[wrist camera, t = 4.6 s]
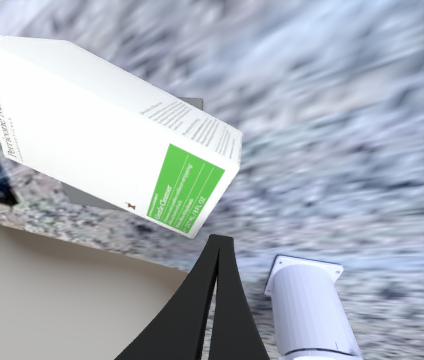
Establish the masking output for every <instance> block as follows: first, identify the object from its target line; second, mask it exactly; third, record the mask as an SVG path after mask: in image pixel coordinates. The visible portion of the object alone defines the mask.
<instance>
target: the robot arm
mask: <svg viewBox="0 0 424 360" xmlns="http://www.w3.org/2000/svg"><path fill="white" fill-rule="evenodd" d="M343 270H344V269H343V267H342V266H341V265H337V264H331V263H325V262H318V261H312V260H306V259H300V258H293V257H287V256H277V258H276V261H275V263H274V266H273V269H272V272H271V274H270V277H269V280H268V283H267V286H266V288H265V291H264V292H265V295H267V296H271V299H272V309H273V318H274V328H275V337H276V343H277V347H278V350H279V352H280V354H281V356H282V357H278V360H364V359H363V356H362V354H361V351H360V349H359V346H358V344H357V341H356V339H355V336H354V334H353V331H352V329H351V326H350V324H349V321H348V319H347V316H346V314H345V311H344V309H343V306H342V304H341V301H340V299H339V296H338V294H337V291H336V289H335V286H334V283H335V281H336V280H337V279H338V277H339V276H340V274H341V273H342V272H343ZM216 278H217V291H216V307H215V314H214V321H213V329H212V336H211V343H210V350H209V358H208V360H270V358H269V356H268V354H267V352H266V349H265V347H264V344H263V342H262V340H261V337H260V335H259V332H258V330H257V328H256V325H255V322H254V320H253V317H252V314H251V311H250V309H249V306H248V303H247V300H246V297H245V294H244V290H243V287H242V284H241V280H240V276H239V272H238V268H237V263H236V258H235V252H234V239H233V238H232V237H228V236H222V235H215V234H211V235H210V236H209V239H208V241H207V243H206V245H205V247H204V249H203V251H202V253H201V255H200V257H199V258H198V260H197V262H196V263H195V265H194V267H193V268H192V270H191V271H190V273H189V274H188V276H187V277H186V279H185V280H184V282H183V283H182V285H181V286H180V287H179V289H178V290H177V291H176V293H175V294H174V295H173V296H172V298H171V299H170V300H169V301H168V303H167V304H166V305H165V306H164V308H163V309H162V310H161V311H160V312H159V313H158V315H157V316H156V317H155V318H154V319H153V320H152V321H151V322H150V324H149V325H148V326H147V327H146V328H145V329H144V330H143V331H142V332H141V333H140V334H139V335H138V337H136V339H134V341H133V342H131V344H129V346H127V347H126V349H124V350H123V351H122V352H121V353H120V354H119V355H118V356H117V357H116V358H115V359H114V360H201V357H202V350H203V344H204V337H205V330H206V324H207V319H208V314H209V309H210V305H211V300H212V296H213V292H214V287H215V283H216Z"/></svg>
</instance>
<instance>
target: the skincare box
mask: <svg viewBox="0 0 424 360" xmlns="http://www.w3.org/2000/svg"><path fill="white" fill-rule="evenodd" d="M242 134H243V133H242V132H241V131H239V130H237V129H236V128H234V127H232V126H230V125H228V124H226V123H224V122H222V121H220V120H219V119H217V118H215V117H213V116H211V115H209V114H207V113H205V112H203V111H201V110H200V109H198V108H196V107H194V106H192V105H190V104H188V103H186V102H184V101H182V100H180V99H178V98H176V97H174V96H173V95H171V94H169V93H167V92H165V91H163V90H161V89H159V88H157V87H155V86H153V85H151V84H149V83H148V82H146V81H144V80H142V79H140V78H138V77H136V76H134V75H132V74H130V73H128V72H126V71H124V70H122V69H121V68H119V67H117V66H115V65H113V64H111V63H109V62H107V61H105V60H103V59H101V58H100V57H98V56H96V55H94V54H92V53H90V52H88V51H86V50H84V49H82V48H80V47H79V46H77V45H75V44H73V43H71V42H69V41H63V40H51V39H39V38H27V37H13V36H0V141H1V145H2V148H3V152H4V155H5V157H6V158H9V159H12V160H14V161H16V162H18V163H21V164H23V165H25V166H28V167H31V168H32V169H34V170H37V171H39V172H41V173H43V174H46V175H48V176H50V177H52V178H55V179H57V180H59V181H62V182H64V183H66V184H68V185H71V186H73V187H75V188H77V189H80V190H82V191H84V192H86V193H89V194H91V195H93V196H96V197H98V198H100V199H102V200H105V201H107V202H109V203H111V204H114V205H116V206H118V207H120V208H123V209H125V210H127V211H129V212H132V213H134V214H136V215H138V216H141V217H143V218H145V219H147V220H150V221H152V222H154V223H156V224H159V225H161V226H163V227H165V228H168V229H170V230H172V231H175V232H177V233H179V234H181V235H183V236H186V237H188V238H190V239H193V238H194V237H195V236H196V234H197V232H198V231H199V229H200V228H201V226H202V225H203V223H204V222H205V220H206V219H207V217H208V216H209V214H210V213H211V211H212V210H213V208H214V207H215V205H216V204H217V202H218V201H219V199H220V198H221V196H222V195H223V193H224V192H225V190H226V188H227V187H228V185H229V184H230V182H231V181H232V179H233V178H234V177H235V176H236V174H237V172H238V171H239V169H240V158H241V145H242Z"/></svg>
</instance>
